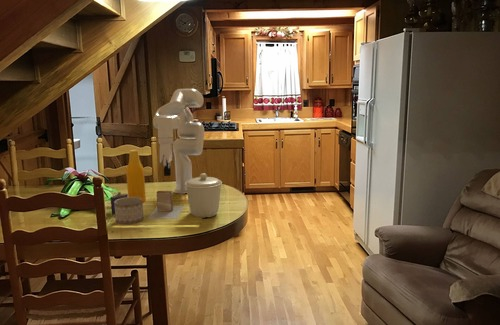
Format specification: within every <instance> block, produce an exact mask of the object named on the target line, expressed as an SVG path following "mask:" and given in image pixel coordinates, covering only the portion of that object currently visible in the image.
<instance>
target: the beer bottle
mask: <svg viewBox="0 0 500 325" xmlns="http://www.w3.org/2000/svg"><path fill="white" fill-rule="evenodd" d="M128 159H129V160H128V164H127V165H126V166H127V168H126V172H125V173H126V184H127V185H126V187H127V194H128V197H139V198H142V201H143V203H145V202H146V201H147V199H146V198H147V197H146V182H145V170H144V166H143V164H142V162H141V159H140V155H139V150H138V149H130V150H129V158H128Z"/></svg>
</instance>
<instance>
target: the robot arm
mask: <svg viewBox="0 0 500 325" xmlns="http://www.w3.org/2000/svg"><path fill="white" fill-rule="evenodd" d="M204 101H205V100H204V95H203V94H202V93H201V92H200V91H199V90H197V89H195V88H177V89H176V90H175V91H174V92H173V94H172V96H171V98H170V101H169V102H168V103H166V104H164V105H163V106H160V107H159V108H158V109H157V110H156V111H155V114H154V117H153V119H152V122H153V123H152V124H153V127H154V128H155V129H157V138H158V139H157V140H158V144H159V163H160V164H162V163H163V165H162V166H163V176H164V177H170V176H172V175H171V174H172V172H171V170H172V169H171V162H172V161H173V155H174V168H175V186H176V187H175V188H174V189H173V193H175V194H180V195H184V194H185V193H187V188H186V186H185V182H187V181H188V180H190V179H192V178H193V175H192V174H193V170H192V169H193V168H192V160H191V159H190V157H189V156H201V155H202V154H203V151H204V150H203V149H204V140H205V128H204V125H203V124H204V123H201V122H194V115H193V113H192V112H191V111H190V110H189V109H188V108H201V107H203V105H204ZM174 130H177V136H178V137H179V138H178V139H175V140H174ZM185 195H186V194H185Z"/></svg>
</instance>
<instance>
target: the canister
mask: <svg viewBox="0 0 500 325" xmlns="http://www.w3.org/2000/svg"><path fill="white" fill-rule="evenodd" d="M222 184H223V181H222V180H221V179H219V178H218V177H217V178H216V177H213V176H208V175H207V174H206V173H205V172H204V173H202V172H201V173H200V174H199V176H197V177H192V179H190V180H188V181H187V182H185V186H186V188H187V201H188V206H189V212H190V214H191V215H192V216H194V217H197V218H202V219H206V218H205V217H208V218H212V217H214V216H216V215H217V214H218V212H219V208H220V200H221V197H220V196H221V186H222Z"/></svg>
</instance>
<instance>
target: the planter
mask: <svg viewBox="0 0 500 325" xmlns="http://www.w3.org/2000/svg"><path fill="white" fill-rule="evenodd" d="M143 203H144V202H143V201H142V198H139V197H125V198H120V199H117V200H116V201H115V202H114V205H115V223H117V224H120V225H132V224H137V223H140V222H142V221H143V220H144V216H145V215H144V204H143Z"/></svg>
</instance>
